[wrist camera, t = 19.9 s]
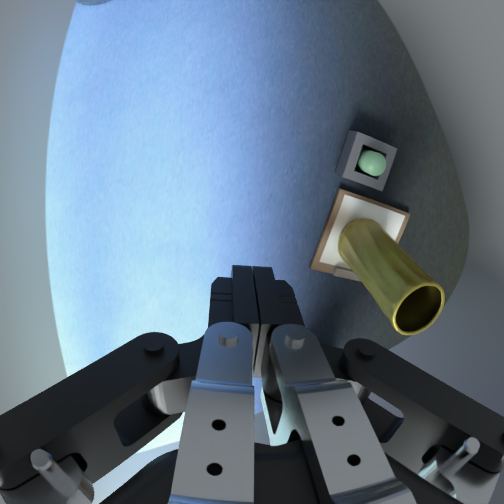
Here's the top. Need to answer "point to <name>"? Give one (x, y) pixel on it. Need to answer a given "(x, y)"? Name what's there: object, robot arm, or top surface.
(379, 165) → the button
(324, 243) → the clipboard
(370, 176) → the button housing
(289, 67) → the top surface
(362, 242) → the vase
